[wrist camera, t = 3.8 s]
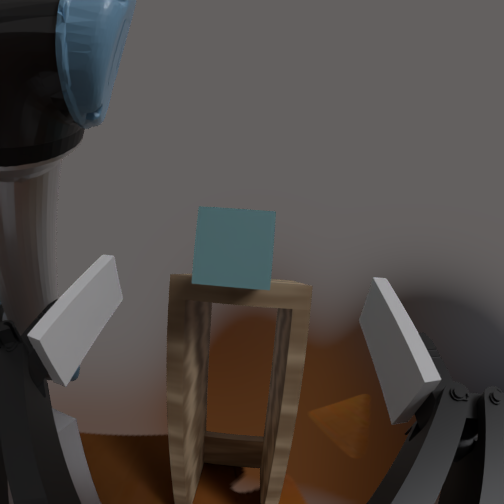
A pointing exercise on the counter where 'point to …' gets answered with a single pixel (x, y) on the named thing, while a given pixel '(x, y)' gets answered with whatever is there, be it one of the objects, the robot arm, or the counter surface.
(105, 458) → the counter surface
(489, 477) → the robot arm
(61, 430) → the stone block
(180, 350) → the wooden stool frame
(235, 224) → the teal block
